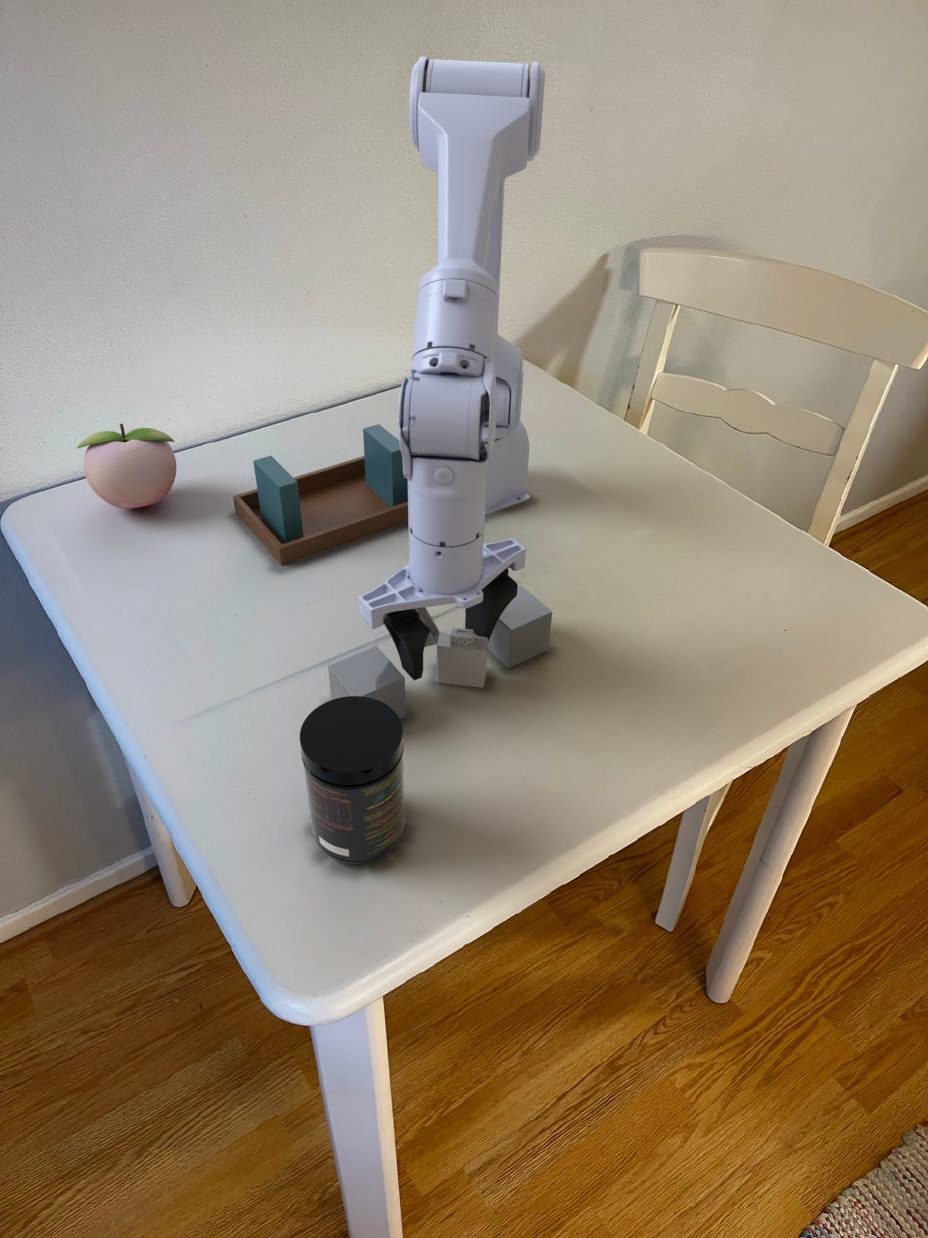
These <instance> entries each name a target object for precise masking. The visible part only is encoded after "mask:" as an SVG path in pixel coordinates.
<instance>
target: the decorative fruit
mask: <svg viewBox="0 0 928 1238" xmlns="http://www.w3.org/2000/svg"><path fill="white" fill-rule="evenodd" d="M119 428H120V432H118V431H117V432H116V431H114V430H113V431H111V430H103V431H98V432H95V433H92V434H90V435H88V436H87V437H86V438H84V439H83V440H82V441H81V442H80V443H79V444H78V445H77V447H76V449H80V448H81V449H82V448H85V447H87V448H86V450H85V452H84V456H83V472H84V476H85V479H86V481H87V483H88V485H89V486H90V488H91V489H92V491H93V492H94V493H95V494H96V495H97V496H98V497H99V498H100V499H102V500H103V501H104V502H105V503H107V504H109V505H111V506H113V507H115V508H119V509H127V510H130V509H131V510H132V509H139V508H143V507H148V506H152V505H155V504H156V503H159V502H160V501H162V500H163V499H164V498H165V497H166V496H167V495H168V494H169V493H170V491H171V490H172V487H173V485H174V483H175V480H176V475H177V460H176V455H175V452H174V450H173V447H172V446H171V444H170V442H171V443H175V440H174V439H173V438H172V437H171V436H170V435H169V434H167V433H165V432H163V431H161V430H159V429H156V428H152V427H136V428H135V427H134V428H131V429H128V430H126V431H125V427H124V424H123V423H120V424H119Z"/></svg>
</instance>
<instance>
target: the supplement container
mask: <svg viewBox="0 0 928 1238" xmlns="http://www.w3.org/2000/svg"><path fill="white" fill-rule="evenodd" d="M299 744H300V745H299V746H300V754H301V755H300V756H301V760H302V765H303V769H304V777H305V783H306V791H307V798H308V799H307V800H308V806H309V811H310V812H309V815H310V821H311V828H312V834H313V838H314V841H315V843H316V844H317V846H318V848H319V849H320V850H321V851H322V852H323V853H324V854H325V855H327V856H328V857H329V858H331V859H333V860H335V861H337V862H340V863H344V864H348V865H363V864H368V863H372V862H376V861H377V860H380V859H382V858H383V857H385V856H386V855H388V854H389V853H391V851H392V850H393V849H395V848H396V846H397V845H398V843H400V840H401V839H402V836H403V834H404V830H405V824H406V823H405V822H406V820H405V785H404V784H405V783H404V781H405V779H404V750H405V749H404V747H405V746H404V745H405V744H404V728H403V723H402V721H401V719H399V717H398V715H397V714H396V713H395V711H394V710H393V709H392V708H390V707H389V706H388V705H386V704H385V703H383V702H381V701H378V700H376V699H373V698H369V697H362V696H347V697H341V698H337V699H333V700H328V701H325V702H324V703H322V704H320V705H318V706H317V707H316V708H314V709H313V710H312V711H311V712H310V713H309V714H308V715H307V716H306V718H305V719H304V721H303V723H302V724H301V727H300V731H299Z"/></svg>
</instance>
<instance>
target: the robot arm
mask: <svg viewBox="0 0 928 1238" xmlns="http://www.w3.org/2000/svg"><path fill="white" fill-rule="evenodd" d="M410 74H411V75H410V82H409V97H408V98H409V99H408V100H409V102H408V103H409V104H408V107H409V108H408V110H409V111H408V115H409V119H408V120H409V132H410V134H409V135H410V139H411V143H412V145H413V146H414V147H415V148H416V151H417V152H418V153H419V159H420V163H421V165H423V166H424V167H426V168H428V170H430V171H432V172H434V173H435V174H437V175H438V177H437V178H438V179H437V183H438V184H437V191H438V192H437V263H436V265H435V266H434V267H433V268H431V269H430V270H429V271H427V272H426V273H425V274H424V275H423V276H422V277H421V278H420V280H419V283H418V289H417V290H418V291H417V301H416V302H417V303H416V311H415V321H414V331H413V344H412V353H411V364H410V373H409V374H410V375H409V378H408V377H406V376H405V377H404V378H403V379H402V381H401V386H400V389H399V395H398V403H397V436H398V440H399V443H400V449H401V454H402V458H403V475H404V478H407V479H408V521H407V523H408V524H407V525H408V563H407V564H406V565H404V566H402V568H400V569H399V570H397V571H396V572H395V573H394V574H392V575H391V576H389V578H387V579H386V580H384V582H382V583H381V584H379V585H378V586H377V587H375V588H373V590H370V591H369V592H366V593H364V594H362V595H360V596H358V606H359V607H358V608H359V616H360V618H361V619H362V620H363V621H364V622H365V624H367V625H368V627H370V629H371V630H374V629H378V628H379V627H382V626H384V627H385V628H386V630H387V631H388V634H389V635H390V637H391V639H392V641H393V643H394V646H395V648H396V650H397V654H398V656H399V661H400V664H401V667H402V670H403V671H405V672H406V674H407V675H408V676H409V677H410V679H412V680H413V681H417V680H419V679H422V677H423V673H424V652H425V648H426V647H425V643H426V640H427V637H428V635H429V633H430V631H431V630H430V629H429V628H428V627H427V626H426V625H425V624H424V623H423V622H422V620H421V619H420V618H419V613H417V611H416V608H423V607H426V608H429V607H436V606H443V605H450V604H456V605H457V606H458V607H459V608H461V609H465V611H464V613H465V615H464V620H465V621H464V627H465V628H464V629H472V630H473V632H474V633H475V634H476V635H477V636H480V637H487V638H488V642H489V639H490V637H491V634H492V632H493V630H494V627H495V625H496V623H497V621H498V619H499V617H500V616H501V614H502V613H503V611H504V610H505V608H506V607H507V606H508V604H509V603H510V602H511V601H512V600H513V599H514V598H515V597H516V596H517V589H518V587H519V585H518V583H517V582H516V581H515V580H514V579H513V578H512V577H511V576H510V575H509V572H510V569H511V570H512V571H514V572H518V571H520V570H523V569H525V568H526V555H527V549H526V547H524V546H523V545H522V544H520V543H519V542H518V541H516V540H515V539H514V538H513V537H510V538H507V539H503V540H500V541H494V542H490V543H489V542H487V543H484V541H485V539H484V538H485V519H486V518H485V517H486V516H487V515H489V514H492V513H496V512H497V511H500V510H504V509H506V508H509V507H511V506H515V505H517V504H520V503H522V502H526V501H528V500H530V499H531V495H530V494H528V493H527V484H528V471H529V459H530V441H529V435H528V432H527V429H526V427H525V425H524V423H523V422H522V421H521V414H522V413H521V412H522V399H523V385H524V375H525V373H524V356H523V355H522V350H521V349H520V348H519V347H518V346H517V345H515V344H514V343H512V342H510V340H508V339H506V338H505V337H504V336H502V335H500V334H499V333H498V328H499V312H500V311H499V310H500V308H499V307H500V294H501V293H500V288H501V287H500V286H501V270H502V269H501V268H502V267H501V266H502V249H503V248H502V246H503V244H502V243H503V226H504V225H503V224H504V206H505V203H504V202H505V183H506V180H507V178H509V177H511V176H513V175H515V174H517V173H520V172H523V171H524V170H526V169H527V167H528V162H533V161H534V160H535V157H536V156H537V155H538V153H539V151H540V149H541V136H542V126H543V125H542V124H543V111H544V110H543V109H544V97H545V85H546V84H545V83H546V71H545V69H544V68H543V67H542V66H541V63H540V61H532V62H531V64H530V63H521V62H500V61H499V62H498V61H477V60H457V59H455V60H454V59H453V60H452V59H430V58H429V56H420V57H419V58H418V60H417V61H416V63H415V64H414V65H413V66H412V69H411V73H410Z"/></svg>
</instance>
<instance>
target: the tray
mask: <svg viewBox="0 0 928 1238" xmlns="http://www.w3.org/2000/svg"><path fill="white" fill-rule="evenodd" d="M293 478H294V479H295V480H296V481H297V482H298V491H299V500H300V510H301V519H302V528H303V537H302V538H300V539H297V540H294V541H291V542H288V543H285V544H284V543H283V542H282V541H281V540H280V539H279V537H278V536H277V535H276V534H275V533H274V532H273V531H272V530H271V528H270V527H269V526H268V525H267V524H266V523H265V522H264V521H263V519H262V518H261V511H260V504H259V497H258V490H257V488H255V489H252V490H248V491H244V492H242V493H238V494H236V495H233V496H232V500H233V506H234V513H235V514H236V516H237V517H239V519H240V520H241V521H242V523H243V524H244V525H245V526H246V527H247V528H248V529H249V530H250V531H251V532H252V534H253V535H254V536H255V537H256V538H257V540H258V541H259V542H260V543H261V544H262V545H263V547H264V548H265V549H266V550H267V552H269V553H270V555H271V556H272V557H273V558H274V559H275V561H277V563H278V564H279V565H280V567H283V566H285V565H289V564H291V563H294V562H296V561H299V560H302V559H306V558H308V557H311V556H313V555H317V554H319V553H322V552H325V551H327V550H331V549H334V548H336V547H339V546H342V545H345V544H347V543H351V542H354V541H356V540H359V539H362V538H364V537H367V536H371V535H374V534H376V533H379V532H382V531H384V530H388V529H390V528H393V527H396V526H399V525H401V524H404V523H408V502H405V503H402V504H399V505H396V506H393V507H390V506H389V505H388V504H387V503H386V502H384V501H383V500H382V499H381V498H380V497H379V496H378V495H377V494H376V493H375V492H373V491H372V490H371V489H370V488H369V487H368V486H367V485H366V477H365V457H364V455H362V456H359V457H356V458H353V459H349V460H346V461H342V462H339V463H337V464H333V465H329V466H327V467H323V468H320V469H317V470H313V471H311V472H310V471H309V472H307V473H304V474H301V475H300V474H299V475H298V476H294V477H293Z"/></svg>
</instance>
